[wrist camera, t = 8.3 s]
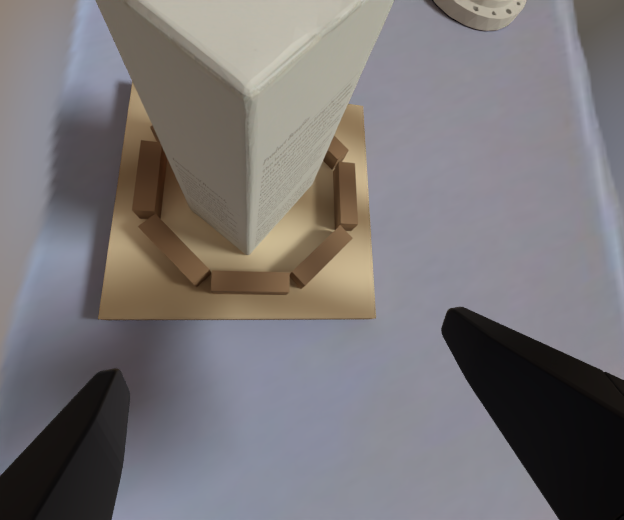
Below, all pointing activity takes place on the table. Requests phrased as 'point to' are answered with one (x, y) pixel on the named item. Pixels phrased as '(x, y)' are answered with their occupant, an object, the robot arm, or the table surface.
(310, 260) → the board
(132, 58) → the skincare box
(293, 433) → the table surface
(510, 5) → the mechanical component
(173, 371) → the table surface
